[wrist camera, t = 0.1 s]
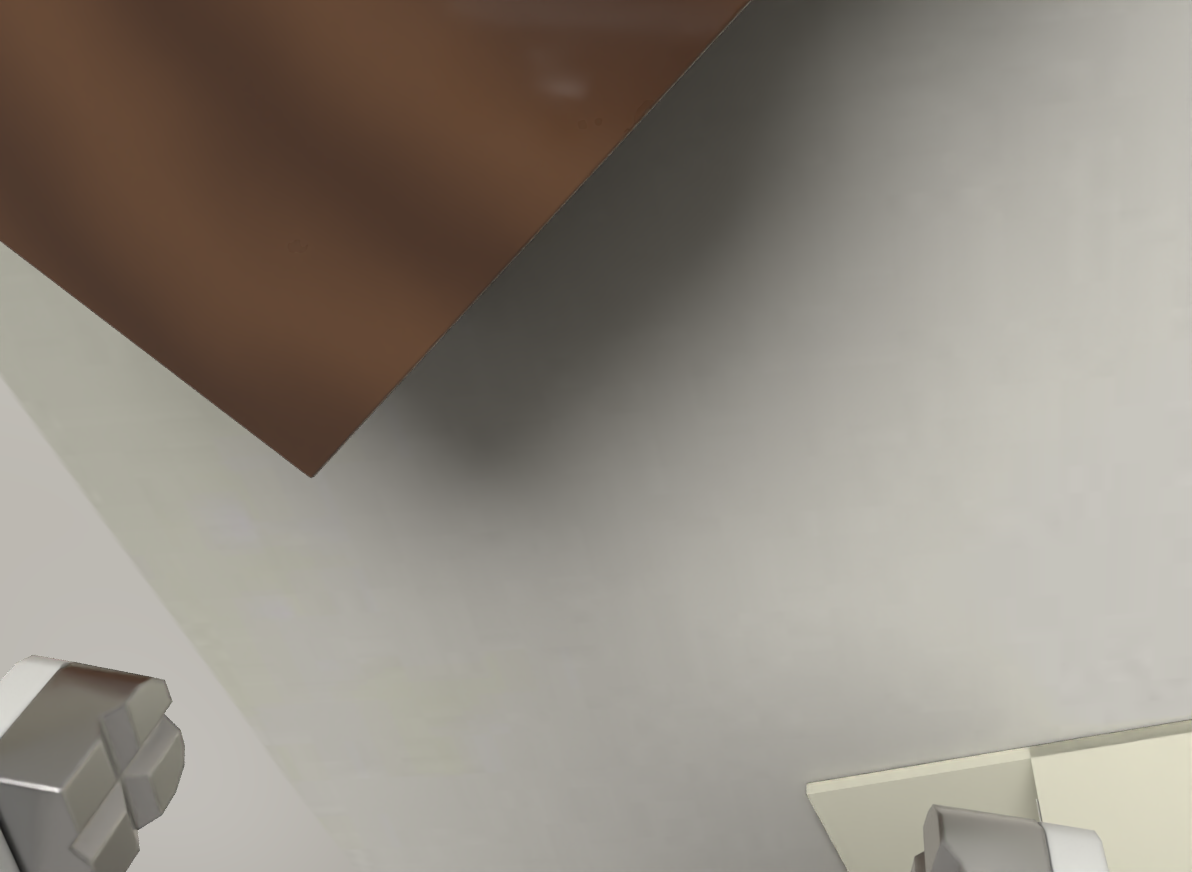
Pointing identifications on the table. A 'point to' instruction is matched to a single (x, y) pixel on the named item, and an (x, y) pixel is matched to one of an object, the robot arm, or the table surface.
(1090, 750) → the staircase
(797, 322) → the table surface
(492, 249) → the cabinet
